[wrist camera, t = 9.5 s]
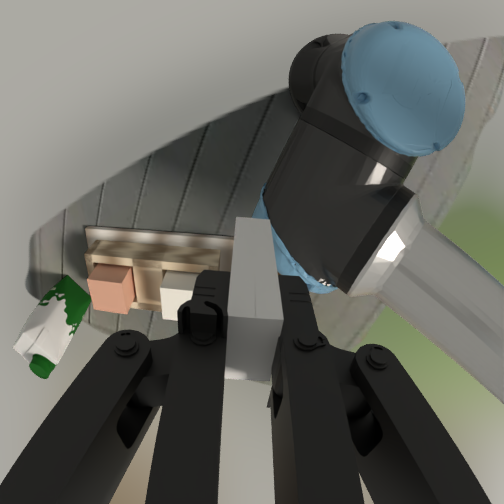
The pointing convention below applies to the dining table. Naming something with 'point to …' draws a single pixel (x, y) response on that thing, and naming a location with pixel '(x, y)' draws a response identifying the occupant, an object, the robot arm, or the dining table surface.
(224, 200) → the dining table surface
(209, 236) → the housing
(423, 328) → the robot arm
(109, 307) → the salmon pink block
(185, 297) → the white block
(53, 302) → the milk carton
